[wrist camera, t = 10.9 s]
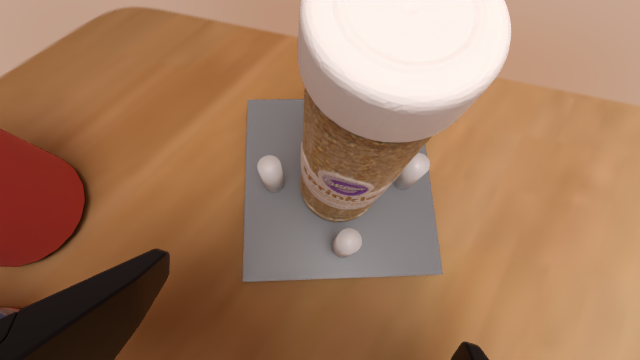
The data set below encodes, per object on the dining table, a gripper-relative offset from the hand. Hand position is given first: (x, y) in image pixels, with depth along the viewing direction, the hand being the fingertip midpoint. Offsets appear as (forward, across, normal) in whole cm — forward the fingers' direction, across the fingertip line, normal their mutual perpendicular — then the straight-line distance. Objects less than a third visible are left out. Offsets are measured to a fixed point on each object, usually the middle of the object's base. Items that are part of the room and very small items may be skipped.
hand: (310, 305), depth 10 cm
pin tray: (+11, 0, +2) cm, 11 cm away
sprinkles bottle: (+10, 0, +2) cm, 11 cm away
